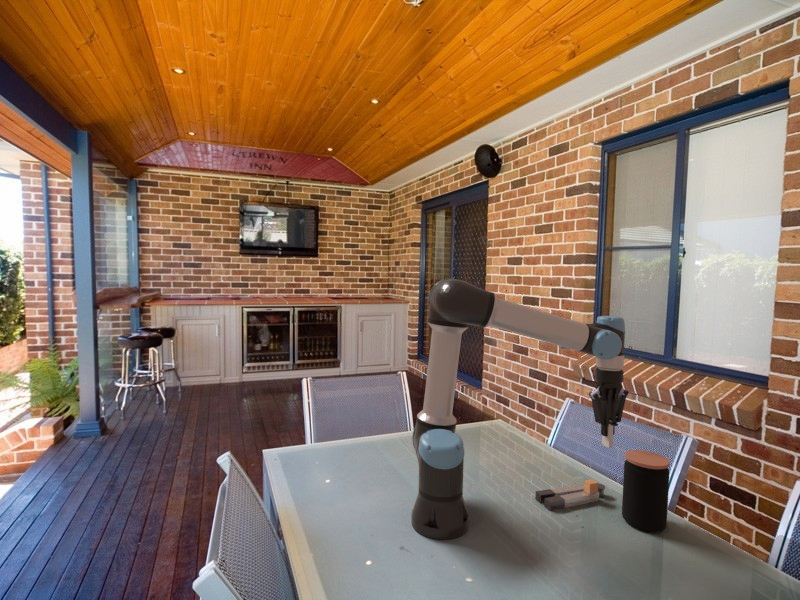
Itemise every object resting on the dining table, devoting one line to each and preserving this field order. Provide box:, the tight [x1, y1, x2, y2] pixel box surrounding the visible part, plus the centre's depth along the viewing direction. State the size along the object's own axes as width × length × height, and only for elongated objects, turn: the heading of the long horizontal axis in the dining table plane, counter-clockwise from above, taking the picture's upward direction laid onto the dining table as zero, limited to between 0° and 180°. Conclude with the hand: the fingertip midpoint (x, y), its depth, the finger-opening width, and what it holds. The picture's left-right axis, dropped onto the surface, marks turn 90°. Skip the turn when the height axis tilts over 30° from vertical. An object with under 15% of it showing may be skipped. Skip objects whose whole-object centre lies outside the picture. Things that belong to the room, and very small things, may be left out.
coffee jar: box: [621, 449, 671, 534], centre depth 121 cm, size 11×11×18 cm
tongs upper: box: [535, 484, 584, 505], centre depth 134 cm, size 18×2×2 cm, turn 107°
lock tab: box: [583, 478, 599, 494], centre depth 133 cm, size 3×2×3 cm
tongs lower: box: [543, 482, 606, 512], centre depth 133 cm, size 22×5×3 cm, turn 111°
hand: (607, 445), depth 135 cm, fingers closed
